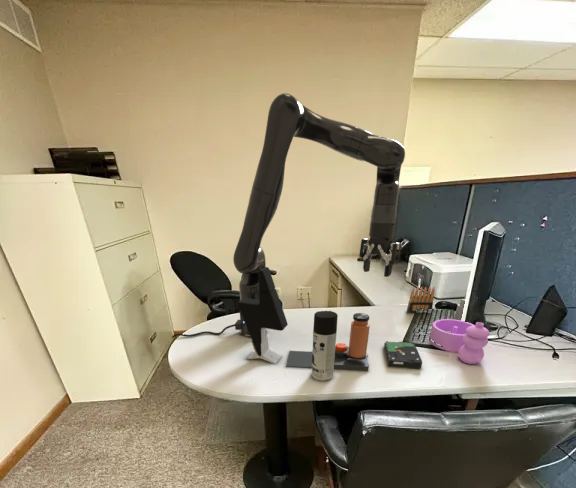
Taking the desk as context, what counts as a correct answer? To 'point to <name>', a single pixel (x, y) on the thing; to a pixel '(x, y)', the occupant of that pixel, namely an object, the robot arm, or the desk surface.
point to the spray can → (324, 345)
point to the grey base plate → (349, 362)
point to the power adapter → (459, 310)
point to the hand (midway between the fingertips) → (376, 273)
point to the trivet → (299, 359)
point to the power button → (341, 347)
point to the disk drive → (402, 355)
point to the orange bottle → (359, 335)
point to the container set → (460, 338)
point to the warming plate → (356, 358)
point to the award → (263, 316)
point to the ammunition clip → (420, 300)
